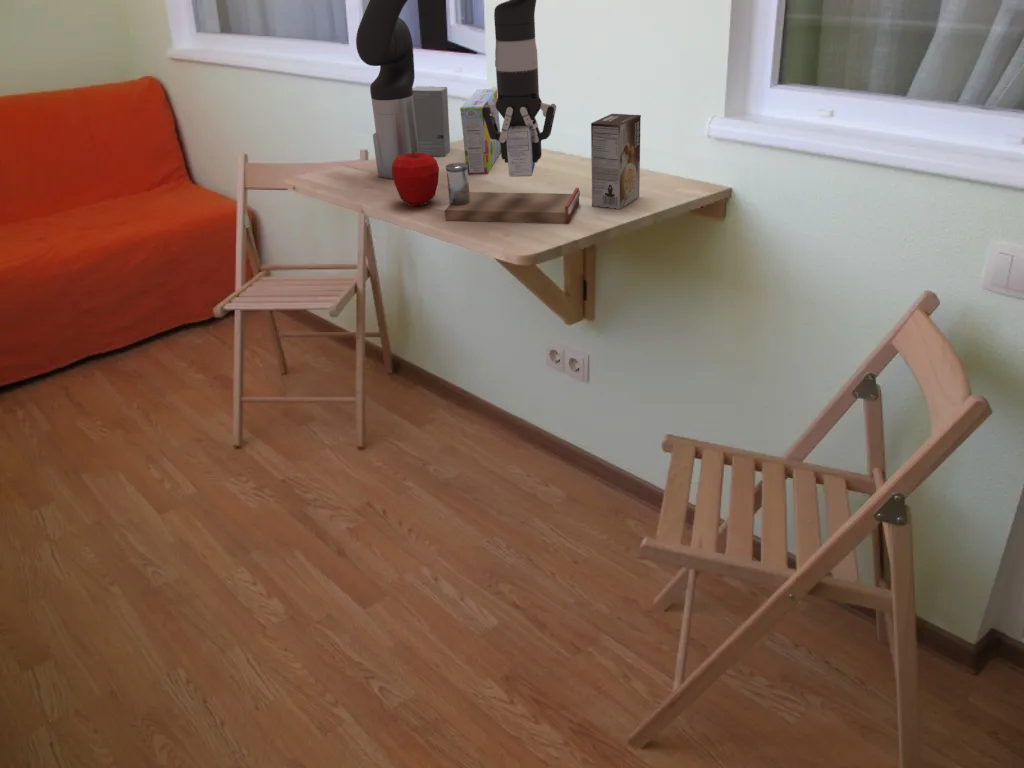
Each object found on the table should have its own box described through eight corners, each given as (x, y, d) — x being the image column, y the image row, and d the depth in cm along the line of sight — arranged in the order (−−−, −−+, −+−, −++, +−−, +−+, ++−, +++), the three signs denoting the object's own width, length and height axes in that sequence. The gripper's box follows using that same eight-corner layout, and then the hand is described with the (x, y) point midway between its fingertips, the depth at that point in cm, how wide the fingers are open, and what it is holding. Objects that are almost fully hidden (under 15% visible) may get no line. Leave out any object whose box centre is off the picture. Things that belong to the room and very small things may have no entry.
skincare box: (413, 157, 203) (406, 90, 195) (420, 150, 209) (413, 85, 201) (446, 156, 201) (440, 89, 193) (453, 149, 207) (447, 84, 200)
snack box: (480, 151, 204) (475, 88, 197) (502, 151, 203) (499, 88, 196) (464, 175, 186) (459, 106, 178) (489, 174, 185) (484, 105, 178)
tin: (446, 205, 159) (442, 168, 155) (452, 198, 163) (449, 162, 159) (467, 205, 158) (464, 168, 154) (473, 199, 162) (470, 162, 158)
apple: (429, 212, 162) (423, 157, 157) (386, 209, 165) (379, 155, 160) (449, 197, 170) (445, 145, 165) (408, 195, 173) (402, 143, 168)
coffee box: (611, 193, 167) (611, 112, 159) (640, 197, 164) (642, 114, 156) (590, 206, 160) (590, 122, 152) (620, 210, 157) (621, 124, 149)
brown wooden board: (445, 220, 157) (444, 203, 156) (463, 201, 167) (462, 186, 166) (569, 223, 152) (569, 206, 150) (580, 203, 162) (579, 187, 160)
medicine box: (532, 176, 152) (530, 129, 148) (508, 177, 152) (505, 130, 148) (535, 165, 159) (533, 119, 154) (512, 166, 159) (509, 120, 155)
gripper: (560, 62, 148) (562, 156, 156) (483, 63, 151) (490, 156, 159) (552, 68, 141) (555, 167, 150) (472, 70, 145) (479, 166, 153)
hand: (521, 161), depth 155 cm, fingers closed on medicine box, 4 cm apart
